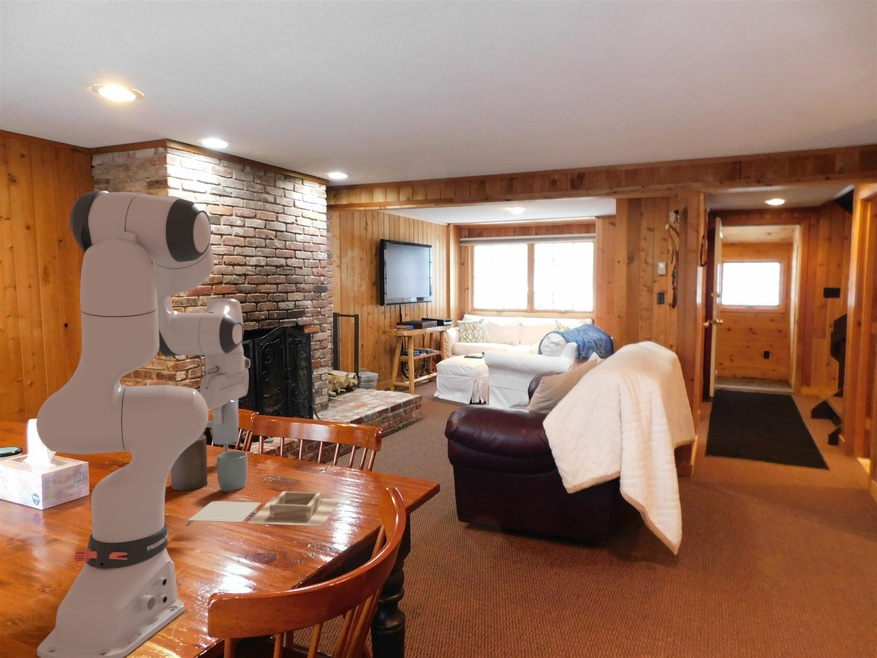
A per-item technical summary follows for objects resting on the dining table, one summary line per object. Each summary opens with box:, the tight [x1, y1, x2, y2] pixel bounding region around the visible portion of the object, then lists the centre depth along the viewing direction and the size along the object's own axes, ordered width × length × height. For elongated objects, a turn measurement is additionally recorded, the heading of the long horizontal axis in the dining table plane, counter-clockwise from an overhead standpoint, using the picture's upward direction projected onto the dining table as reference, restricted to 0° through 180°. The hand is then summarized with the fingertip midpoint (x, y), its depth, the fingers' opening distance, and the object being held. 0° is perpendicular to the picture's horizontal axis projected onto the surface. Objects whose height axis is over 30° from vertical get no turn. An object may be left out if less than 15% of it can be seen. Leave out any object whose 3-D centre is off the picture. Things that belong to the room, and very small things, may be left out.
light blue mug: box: [206, 399, 239, 445], centre depth 146 cm, size 6×10×10 cm, turn 86°
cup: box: [216, 450, 248, 493], centre depth 165 cm, size 8×8×10 cm
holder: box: [247, 490, 341, 527], centre depth 148 cm, size 18×18×4 cm
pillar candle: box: [170, 434, 209, 491], centre depth 169 cm, size 10×10×15 cm
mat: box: [187, 500, 262, 525], centre depth 147 cm, size 13×13×1 cm
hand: (225, 420), depth 146 cm, fingers closed on light blue mug, 6 cm apart
